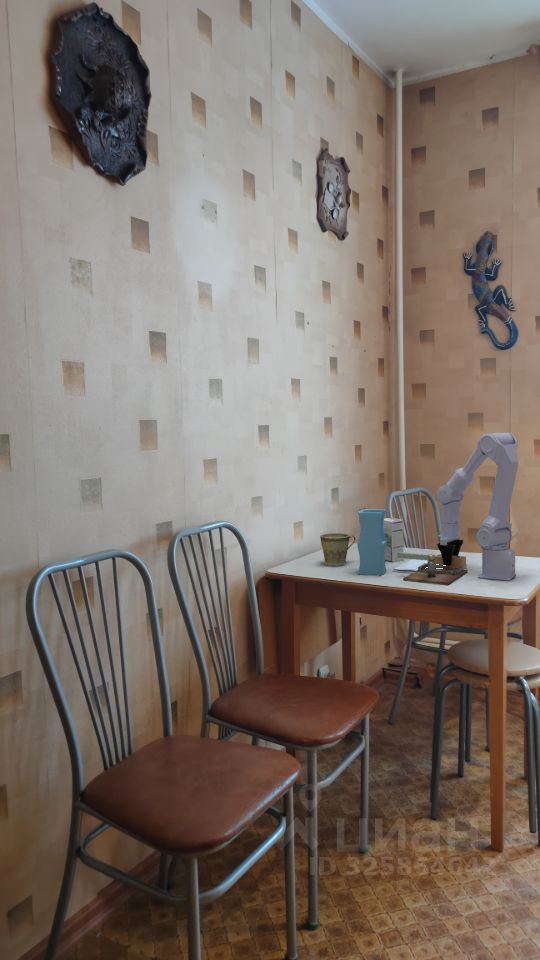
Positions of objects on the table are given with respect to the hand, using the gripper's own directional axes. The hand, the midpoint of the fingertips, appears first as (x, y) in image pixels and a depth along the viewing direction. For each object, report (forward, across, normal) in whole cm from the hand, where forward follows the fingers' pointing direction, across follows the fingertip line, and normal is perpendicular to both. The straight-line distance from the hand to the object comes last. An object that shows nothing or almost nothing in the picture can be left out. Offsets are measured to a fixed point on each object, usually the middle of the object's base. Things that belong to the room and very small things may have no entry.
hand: (450, 563), depth 232 cm
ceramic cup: (+2, +9, -36) cm, 37 cm away
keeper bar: (-4, +18, -5) cm, 19 cm away
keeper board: (+1, +14, 0) cm, 14 cm away
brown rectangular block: (+2, 0, 0) cm, 2 cm away
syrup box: (+2, -4, -22) cm, 22 cm away
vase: (+2, +17, -20) cm, 26 cm away
